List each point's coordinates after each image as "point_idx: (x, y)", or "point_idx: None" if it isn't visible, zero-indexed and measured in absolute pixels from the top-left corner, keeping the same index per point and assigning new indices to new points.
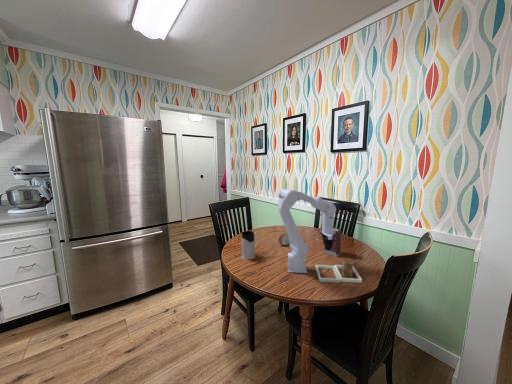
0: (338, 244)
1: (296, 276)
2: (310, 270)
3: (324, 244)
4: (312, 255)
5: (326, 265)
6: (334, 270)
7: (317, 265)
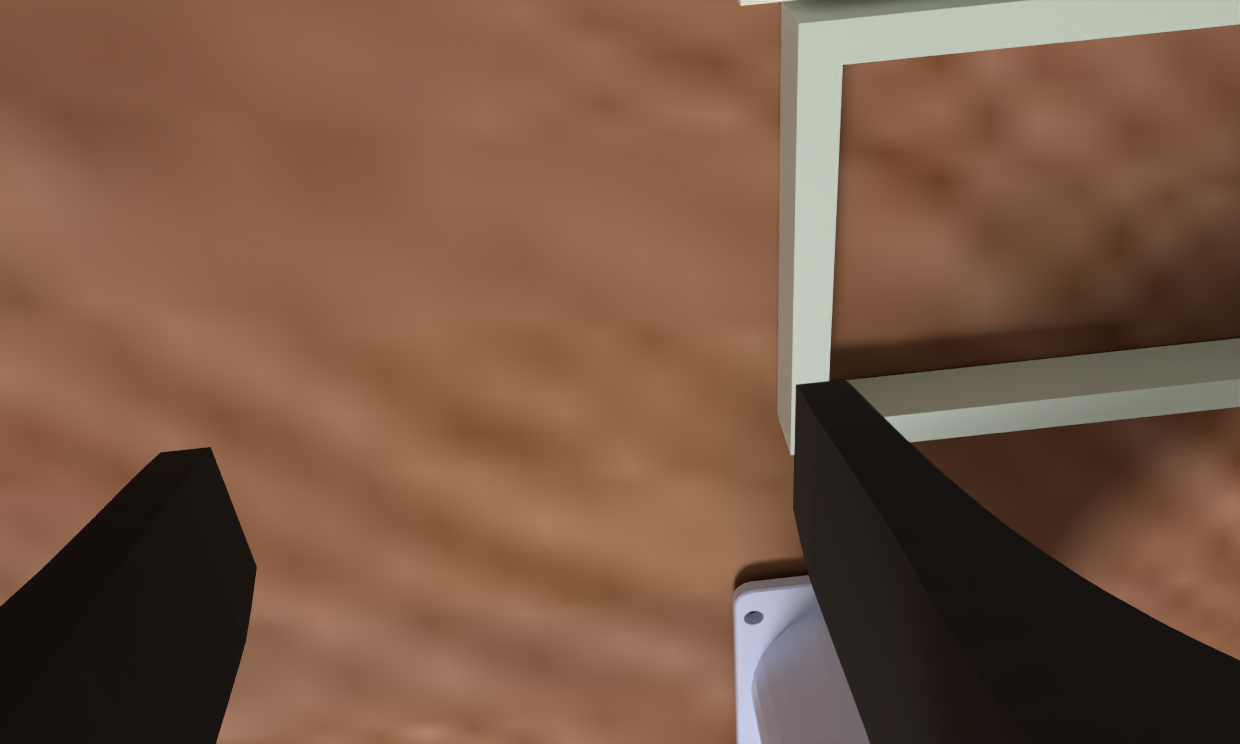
0: None
1: None
2: None
3: (243, 574)
4: (134, 473)
5: (801, 225)
6: (1069, 39)
7: None
